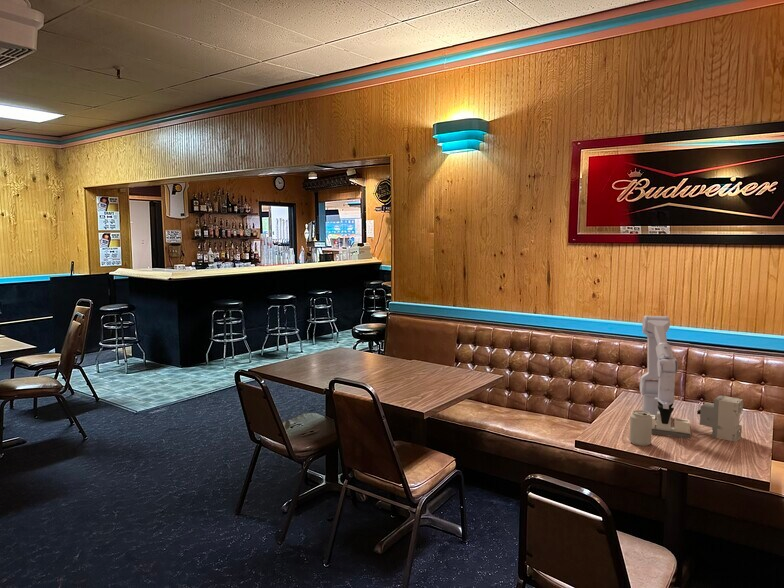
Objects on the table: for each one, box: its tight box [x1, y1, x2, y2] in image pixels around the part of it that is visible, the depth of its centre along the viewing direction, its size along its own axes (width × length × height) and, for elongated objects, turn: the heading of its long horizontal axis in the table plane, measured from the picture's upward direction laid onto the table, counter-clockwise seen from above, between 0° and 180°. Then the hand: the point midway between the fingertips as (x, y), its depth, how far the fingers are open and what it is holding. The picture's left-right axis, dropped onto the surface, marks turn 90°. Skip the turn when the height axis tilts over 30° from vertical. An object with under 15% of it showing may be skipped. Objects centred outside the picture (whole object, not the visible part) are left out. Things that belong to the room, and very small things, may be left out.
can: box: [629, 409, 653, 447], centre depth 197 cm, size 8×8×12 cm
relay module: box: [655, 411, 672, 431], centre depth 210 cm, size 5×4×6 cm
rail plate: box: [650, 415, 692, 440], centre depth 210 cm, size 18×9×6 cm, turn 63°
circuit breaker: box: [696, 395, 744, 443], centre depth 206 cm, size 8×14×15 cm, turn 45°
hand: (664, 421), depth 210 cm, fingers open, 5 cm apart
